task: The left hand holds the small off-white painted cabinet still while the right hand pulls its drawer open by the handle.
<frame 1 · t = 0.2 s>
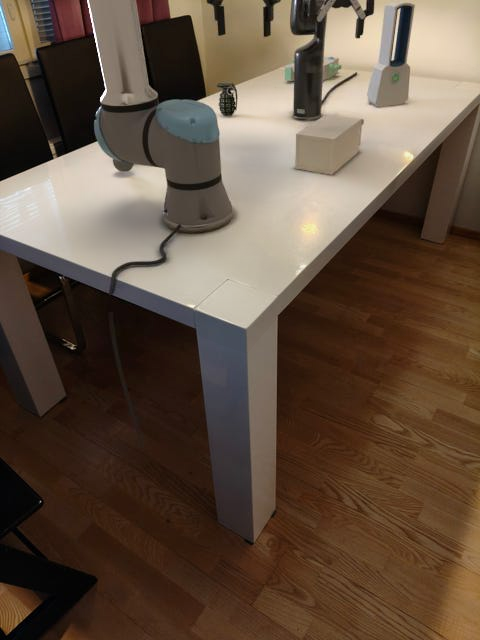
left hand: (244, 35, 129), 28 cm above the table, tool pointing down, fingers open, 13 cm apart
right hand: (338, 39, 111), 29 cm above the table, tool pointing down, fingers open, 8 cm apart
cabinet: (327, 160, 131), on the table
decorative block: (311, 78, 209), on the table
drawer: (337, 136, 132), point 4 cm above the table, slide at 1.3 cm
electronic device: (386, 103, 172), on the table
molecular model: (148, 157, 140), on the table
grenade: (228, 115, 169), on the table
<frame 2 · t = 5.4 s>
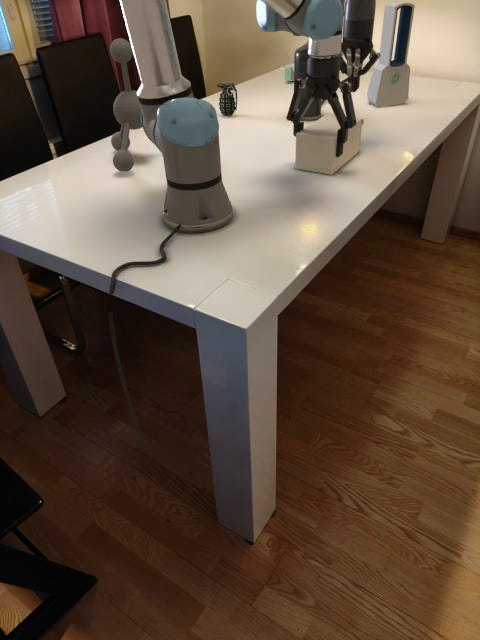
left hand: (318, 152, 125), 4 cm above the table, tool pointing down, fingers closed on cabinet, 10 cm apart
right hand: (352, 91, 132), 14 cm above the table, tool pointing down, fingers closed
cabinet: (327, 160, 131), on the table, touching left hand
everything else where it was.
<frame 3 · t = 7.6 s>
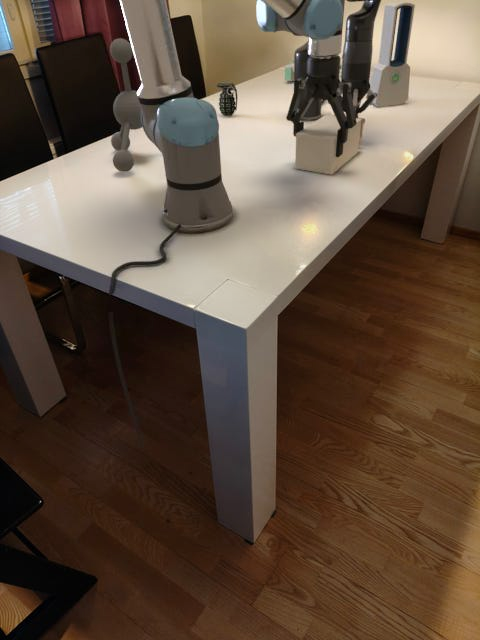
left hand: (318, 152, 125), 4 cm above the table, tool pointing down, fingers closed on cabinet, 10 cm apart
right hand: (351, 127, 139), 4 cm above the table, tool pointing down, fingers closed
cabinet: (327, 160, 131), on the table, touching left hand
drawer: (339, 135, 133), point 4 cm above the table, slide at 2.4 cm, touching right hand
everything else where it was.
when the left hand's fingers open (4 cm above the table, at t = 9.9 s): cabinet stays where it is, on the table.
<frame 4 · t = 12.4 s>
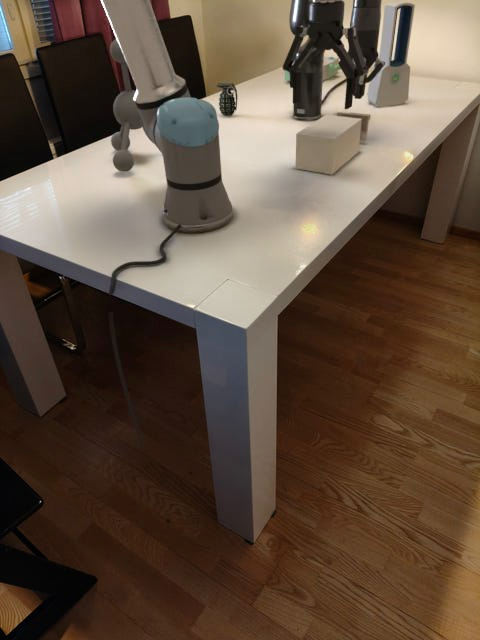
left hand: (321, 105, 118), 16 cm above the table, tool pointing down, fingers open, 13 cm apart
right hand: (358, 98, 137), 11 cm above the table, tool pointing down, fingers closed
cabinet: (327, 160, 131), on the table
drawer: (345, 131, 136), point 4 cm above the table, slide at 6.4 cm
everything else where it was.
at the end: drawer slide at 6.4 cm; cabinet tilted 0°; cabinet never tilted more than 1° during the clip; cabinet moved 0.1 cm from its start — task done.
